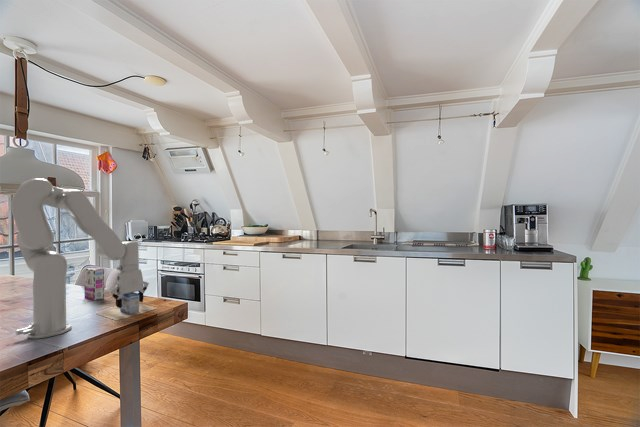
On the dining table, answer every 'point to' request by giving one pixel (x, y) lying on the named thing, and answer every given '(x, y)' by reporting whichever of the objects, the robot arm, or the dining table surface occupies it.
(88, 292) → the candy bar box
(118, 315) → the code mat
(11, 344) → the dining table surface
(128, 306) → the medicine box
